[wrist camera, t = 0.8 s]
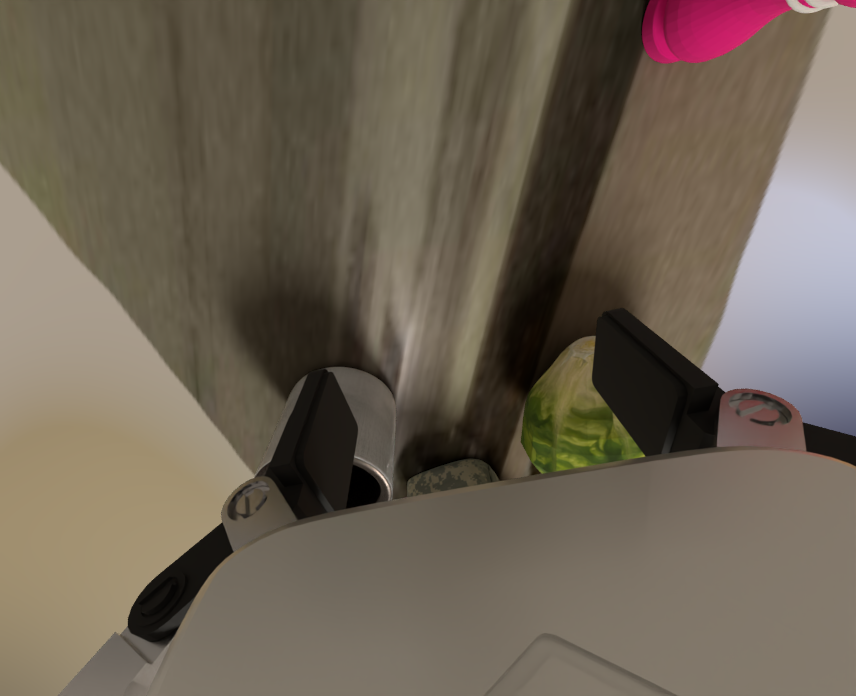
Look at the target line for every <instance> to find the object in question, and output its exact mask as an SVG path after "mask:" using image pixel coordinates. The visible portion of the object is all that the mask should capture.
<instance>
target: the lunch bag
mask: <svg viewBox="0 0 856 696" xmlns="http://www.w3.org/2000/svg"><path fill="white" fill-rule="evenodd" d="M498 481H500V480H499V479H498V477H497V476H496V474H495V472H494V471H493V470H492V469H491V467H490V466H489V465H488V464H486V463H485V462H483V461H481V460H478V459H464V460H459V461H455V462H452V463H449V464H445V465H442V466H439V467H436V468H434V469H431V470H428V471H425V472H422V473H420V474H418V475H416V476H413V477H412V478H411V479H409V480H408V482H407V497H413V496H419V495H424V494H430V493H435V492H441V491H447V490H452V489H458V488H464V487H469V486H475V485H481V484H486V483H492V482H498Z"/></svg>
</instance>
